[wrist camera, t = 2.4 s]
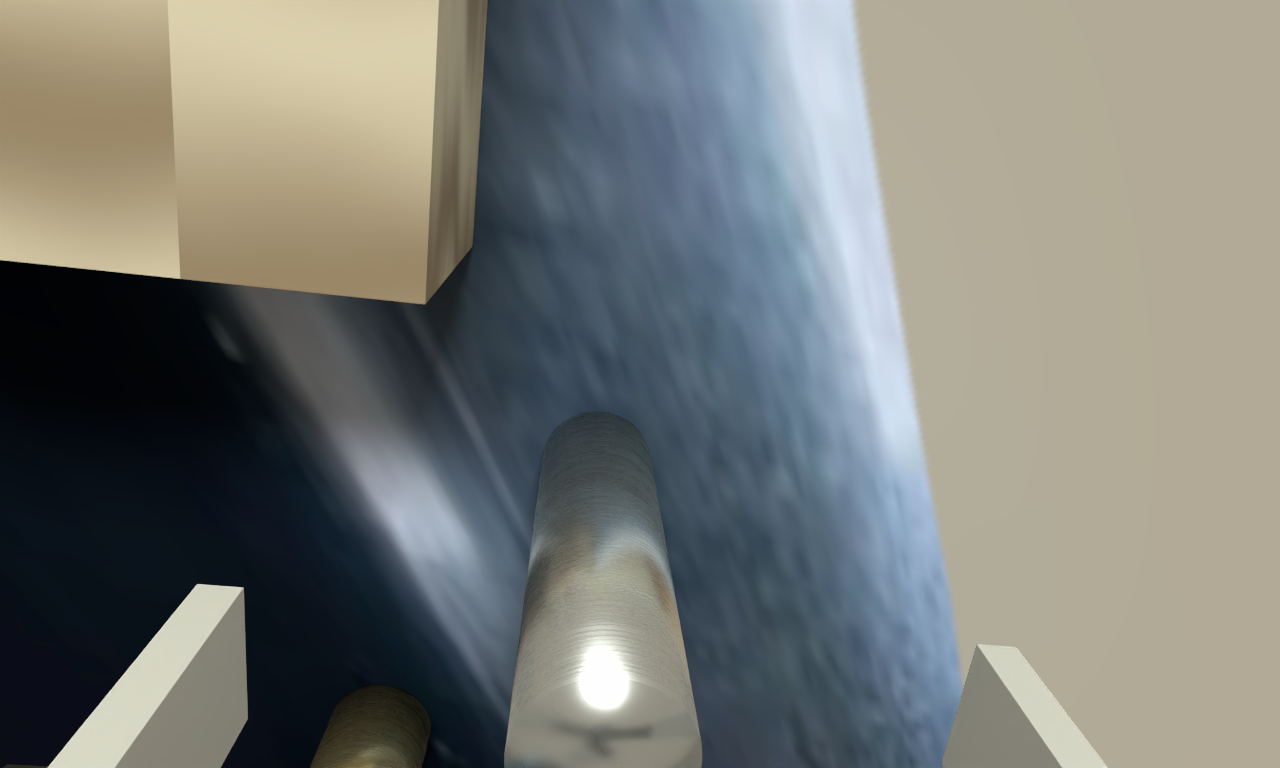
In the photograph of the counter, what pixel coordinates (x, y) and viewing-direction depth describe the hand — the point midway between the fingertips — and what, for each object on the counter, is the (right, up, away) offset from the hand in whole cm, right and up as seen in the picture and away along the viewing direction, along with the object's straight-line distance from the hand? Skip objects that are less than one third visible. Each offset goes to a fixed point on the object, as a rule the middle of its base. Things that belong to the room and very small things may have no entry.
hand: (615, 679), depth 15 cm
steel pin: (-1, +3, +10) cm, 10 cm away
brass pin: (-8, -6, +12) cm, 16 cm away
